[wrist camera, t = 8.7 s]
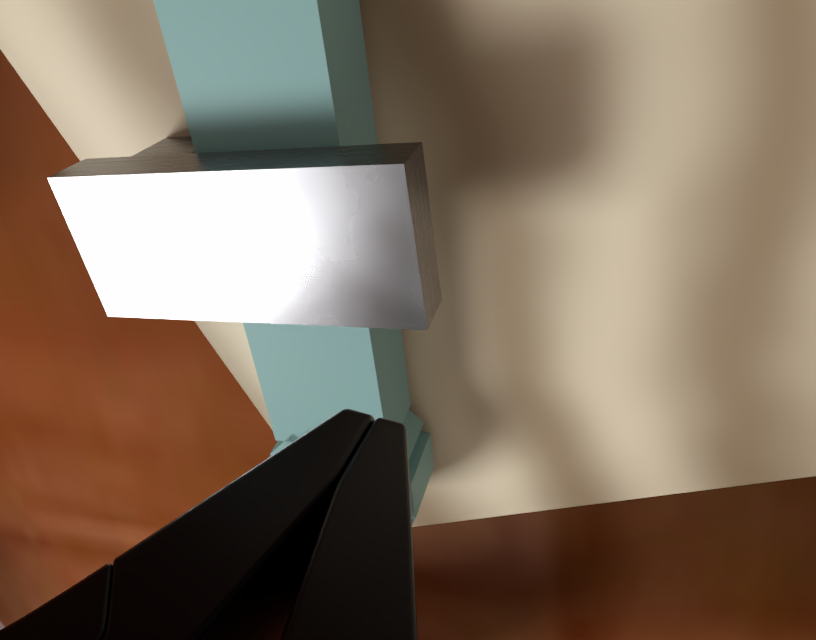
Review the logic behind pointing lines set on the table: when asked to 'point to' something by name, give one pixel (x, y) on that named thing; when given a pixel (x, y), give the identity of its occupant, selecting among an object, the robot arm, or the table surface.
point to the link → (284, 129)
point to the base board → (553, 228)
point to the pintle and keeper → (258, 234)
